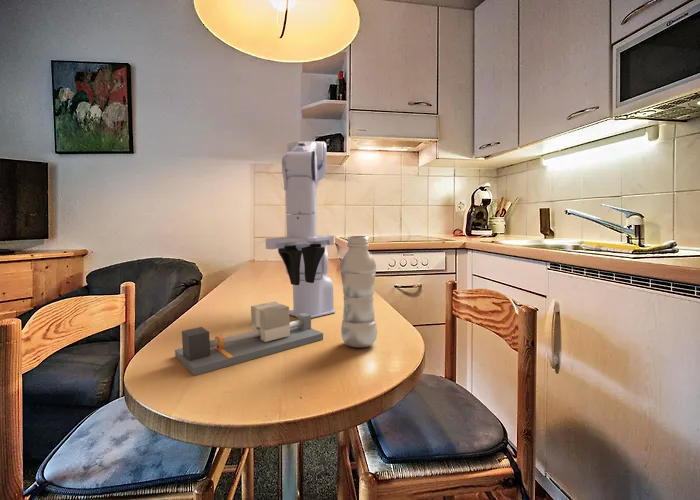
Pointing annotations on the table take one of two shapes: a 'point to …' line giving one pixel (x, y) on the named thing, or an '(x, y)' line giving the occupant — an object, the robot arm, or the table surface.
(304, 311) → the robot arm
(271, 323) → the sleeve
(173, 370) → the table surface
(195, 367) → the rail board
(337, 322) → the table surface
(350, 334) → the plastic bottle
